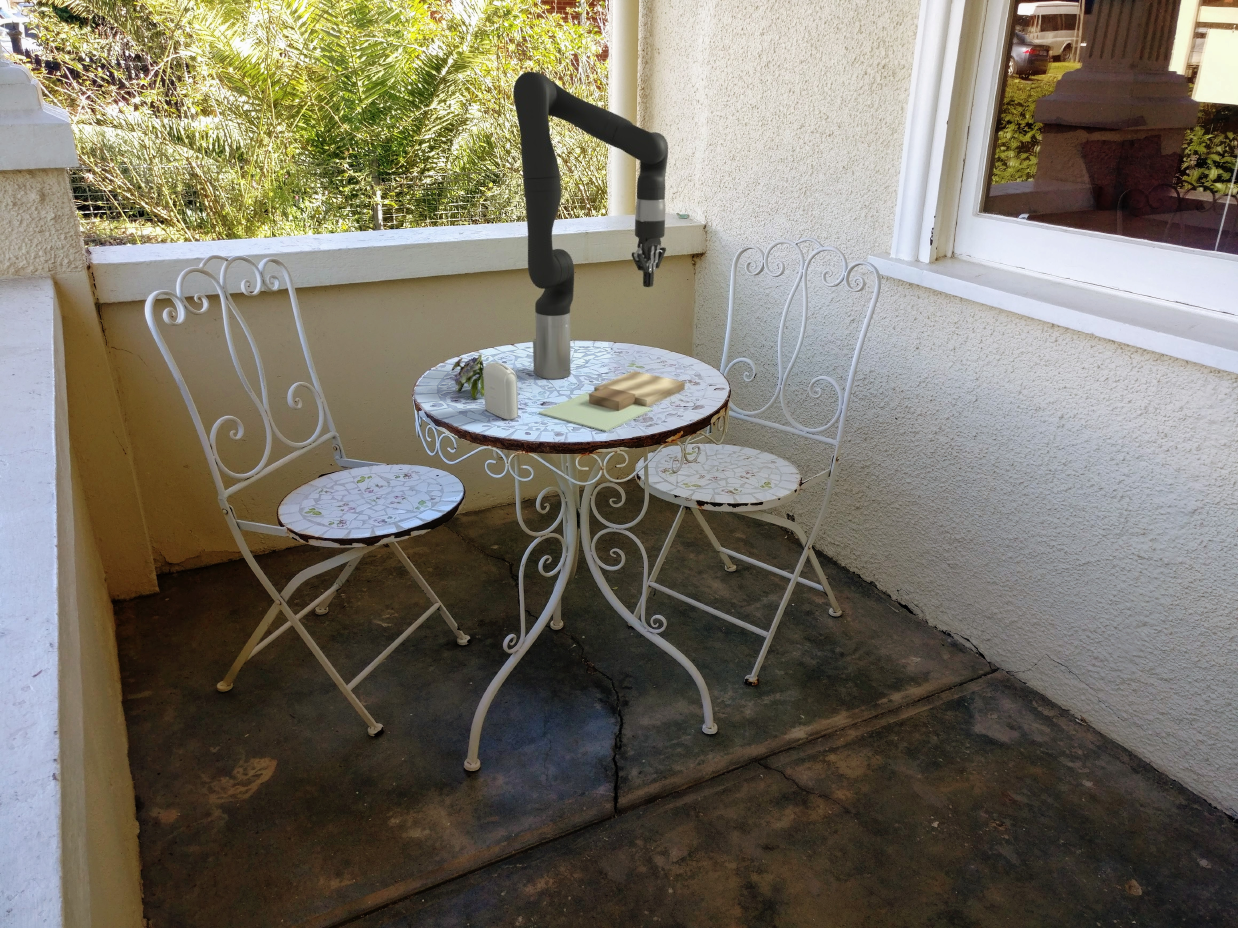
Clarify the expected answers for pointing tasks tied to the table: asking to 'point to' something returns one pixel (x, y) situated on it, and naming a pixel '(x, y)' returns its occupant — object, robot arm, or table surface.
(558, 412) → the sage mat
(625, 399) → the walnut slab
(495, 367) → the photo printer
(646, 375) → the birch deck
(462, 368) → the passion flower
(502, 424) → the table surface
